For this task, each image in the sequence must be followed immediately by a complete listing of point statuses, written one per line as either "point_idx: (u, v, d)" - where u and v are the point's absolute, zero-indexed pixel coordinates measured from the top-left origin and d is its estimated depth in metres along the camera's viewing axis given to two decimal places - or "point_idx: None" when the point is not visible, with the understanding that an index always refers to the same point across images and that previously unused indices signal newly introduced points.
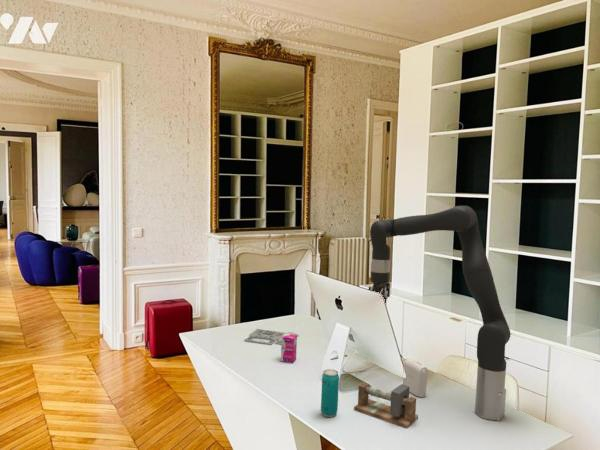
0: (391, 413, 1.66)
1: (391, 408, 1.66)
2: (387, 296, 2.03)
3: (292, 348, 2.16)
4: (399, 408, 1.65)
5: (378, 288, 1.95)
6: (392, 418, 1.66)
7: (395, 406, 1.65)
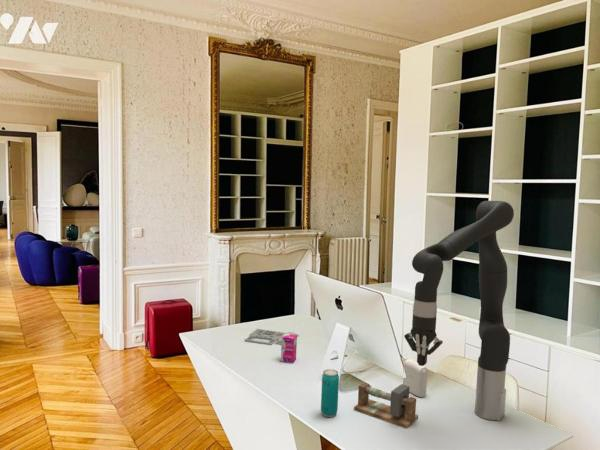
0: (391, 413, 1.66)
1: (391, 408, 1.66)
2: None
3: (292, 348, 2.16)
4: (399, 408, 1.65)
5: None
6: (392, 418, 1.66)
7: (395, 406, 1.65)
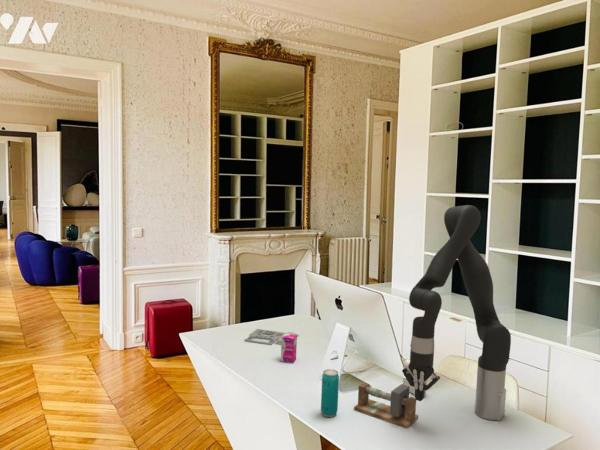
0: (391, 413, 1.66)
1: (391, 408, 1.66)
2: None
3: (292, 348, 2.16)
4: (399, 408, 1.65)
5: None
6: (392, 418, 1.66)
7: (395, 406, 1.65)
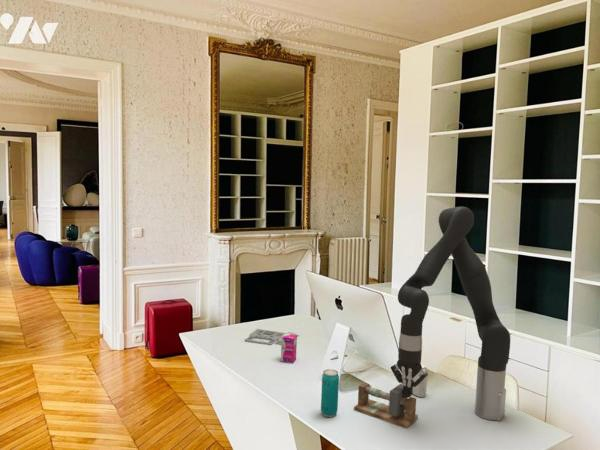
0: (389, 412, 1.67)
1: (390, 408, 1.66)
2: None
3: (292, 348, 2.16)
4: (398, 408, 1.65)
5: None
6: (392, 418, 1.66)
7: (394, 405, 1.65)
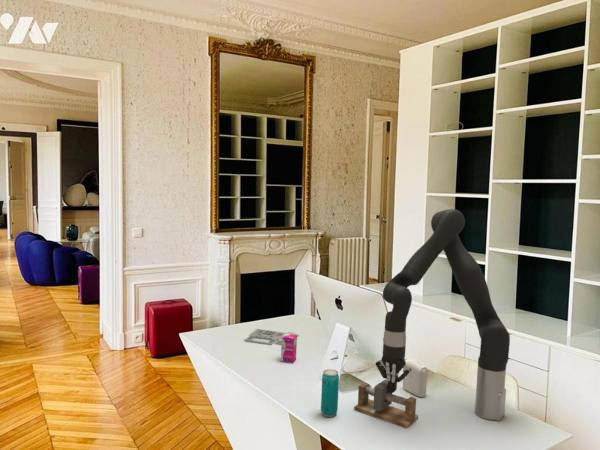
0: (374, 407, 1.70)
1: (374, 403, 1.70)
2: None
3: (292, 348, 2.16)
4: (382, 402, 1.69)
5: None
6: (392, 418, 1.66)
7: (378, 400, 1.69)
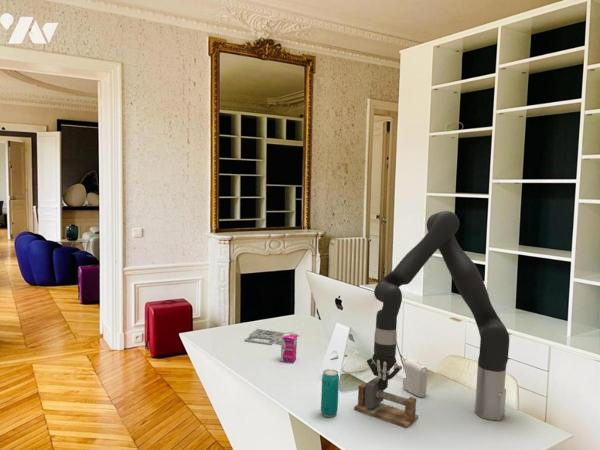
0: (365, 404, 1.72)
1: (366, 400, 1.72)
2: None
3: (292, 348, 2.16)
4: (373, 400, 1.71)
5: None
6: (392, 418, 1.66)
7: (369, 397, 1.71)
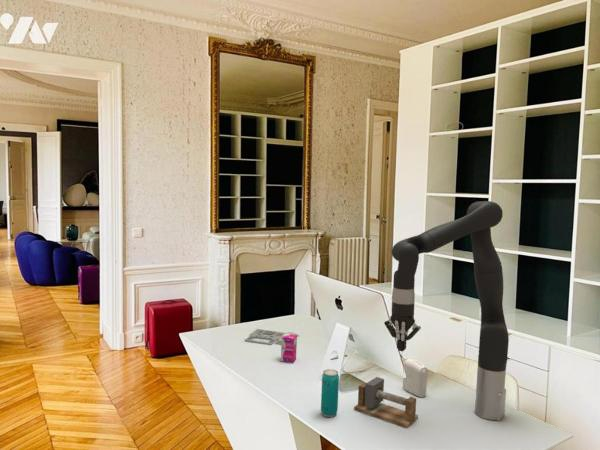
0: (365, 404, 1.72)
1: (366, 400, 1.72)
2: None
3: (292, 348, 2.16)
4: (373, 400, 1.71)
5: None
6: (392, 418, 1.66)
7: (369, 397, 1.71)
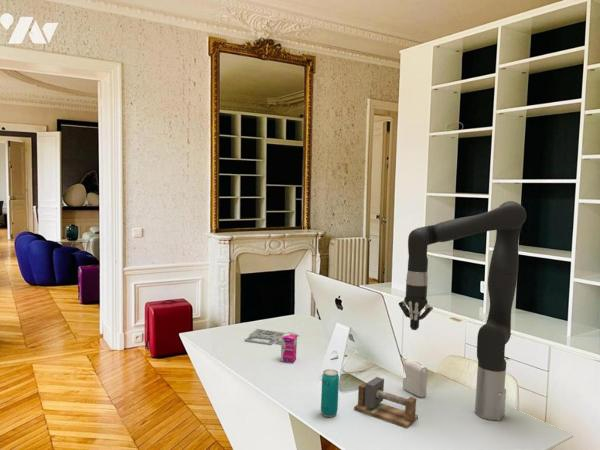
0: (365, 404, 1.72)
1: (366, 400, 1.72)
2: None
3: (292, 348, 2.16)
4: (373, 400, 1.71)
5: None
6: (392, 418, 1.66)
7: (369, 397, 1.71)
